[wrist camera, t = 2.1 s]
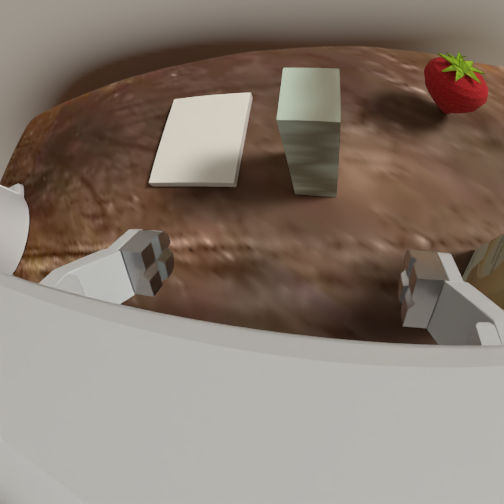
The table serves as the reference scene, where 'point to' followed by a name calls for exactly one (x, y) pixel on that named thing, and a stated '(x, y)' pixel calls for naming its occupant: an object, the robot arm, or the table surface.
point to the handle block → (311, 128)
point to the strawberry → (455, 84)
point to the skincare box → (488, 270)
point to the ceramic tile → (203, 141)
